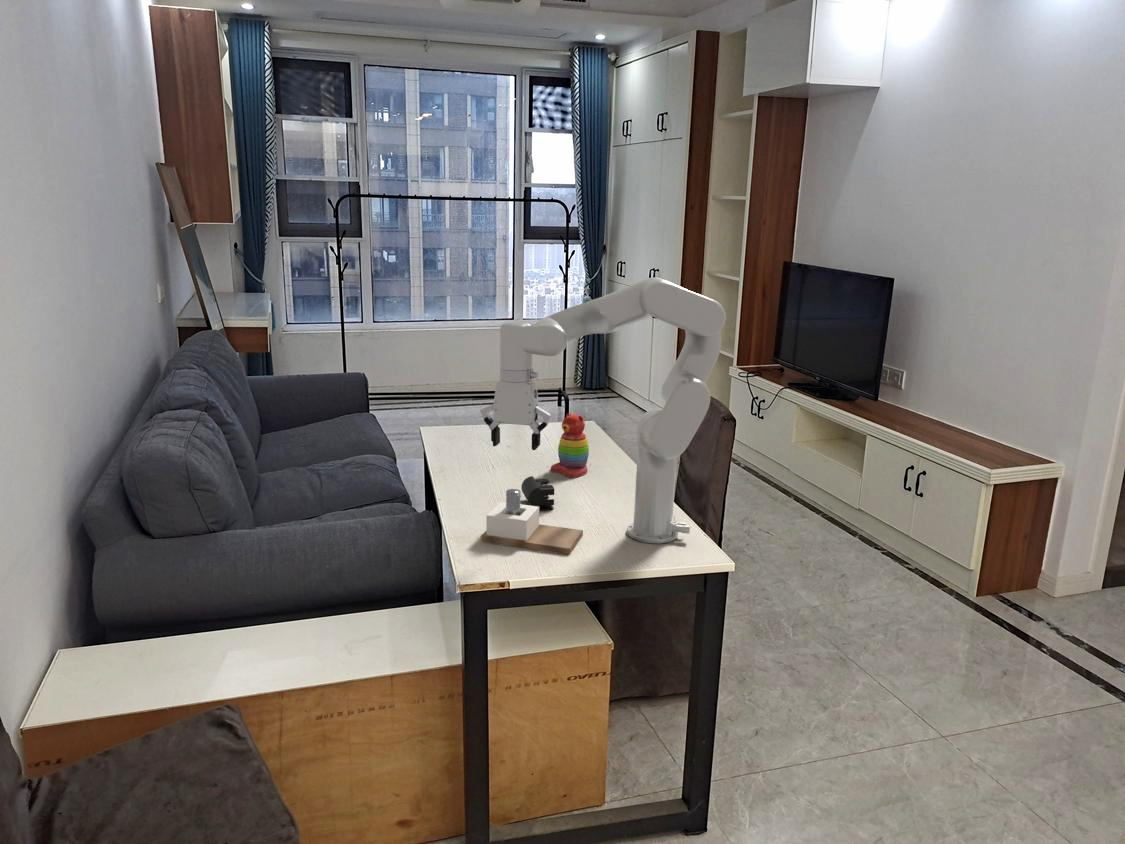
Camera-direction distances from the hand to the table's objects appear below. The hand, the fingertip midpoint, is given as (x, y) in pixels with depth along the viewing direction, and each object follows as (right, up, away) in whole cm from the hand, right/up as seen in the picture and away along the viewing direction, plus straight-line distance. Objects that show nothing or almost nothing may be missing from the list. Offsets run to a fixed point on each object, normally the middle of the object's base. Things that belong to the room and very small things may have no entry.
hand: (515, 446), depth 197 cm
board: (+4, -22, +4) cm, 23 cm away
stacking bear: (+14, -9, +57) cm, 59 cm away
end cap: (+4, -17, +27) cm, 32 cm away
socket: (-1, -21, +5) cm, 21 cm away
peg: (-1, -20, +5) cm, 21 cm away
